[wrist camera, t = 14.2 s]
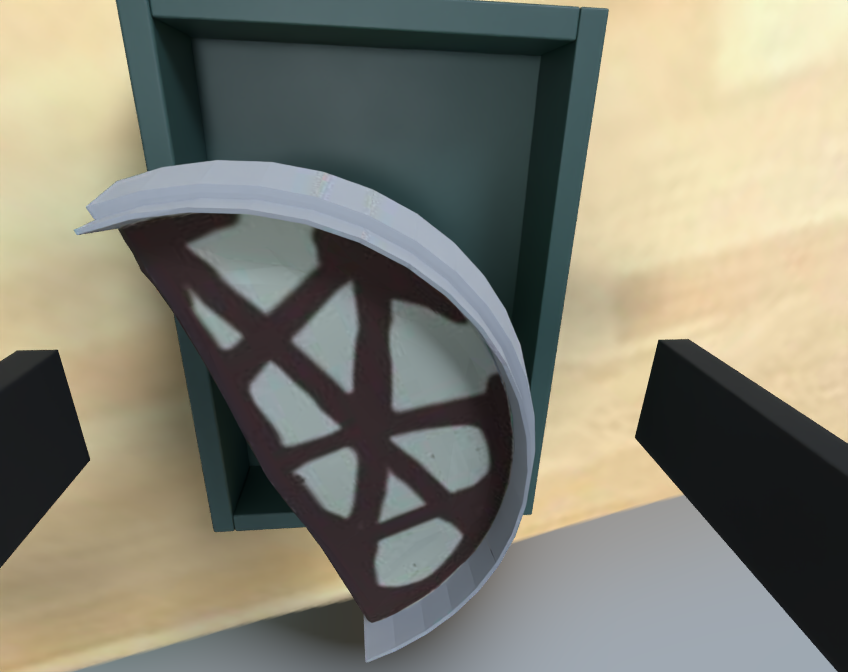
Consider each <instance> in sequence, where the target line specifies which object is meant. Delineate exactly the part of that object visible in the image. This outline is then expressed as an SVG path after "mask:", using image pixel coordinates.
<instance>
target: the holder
mask: <svg viewBox="0 0 848 672" xmlns="http://www.w3.org/2000/svg"><path fill="white" fill-rule="evenodd" d="M116 4H117V9H118V15H119V20H120V26H121V31H122V37H123V42H124V47H125V53H126V58H127V64H128V69H129V74H130V80H131V85H132V91H133V96H134V101H135V107H136V112H137V118H138V123H139V129H140V134H141V139H142V145H143V150H144V156H145V161H146V166H147V172H148V171H152V170H155V169H158V168H162V167H168V166H176V165H183V164H191V163H199V162H206V161H214V160H227V161H258V162H274V163H280V164H285V165H290V166H295V167H300V168H306V169H311V170H316V171H321V172H325V173H328V174H331V175H334V176H337V177H339V178H342V179H345V180H348V181H350V182H353V183H356V184H359V185H362V186H364V187H367V188H370V189H373V190H375V191H377V192H378V193H380V194H382V195H384V196H386V197H387V198H389V199H391V200H393V201H395V202H397V203H398V204H400V205H402V206H404V207H406V208H407V209H409V210H411V211H413V212H415V213H417V214H418V215H419V216H421V217H422V218H423V219H424V220H426V221H427V222H428V223H430V224H431V225H432V226H433V227H435V228H436V229H437V230H438V231H440V232H441V233H442V234H444V235H445V236H446V237H447V238H449V239H450V240H451V241H453V242H454V243H455V244H456V245H457V246H458V248H459V249H460V250H461V251H462V252H463V253H464V254H465V255H466V256H467V257H468V258H469V260H470V261H471V262H472V263H473V264H474V265H475V266H476V267H477V268H478V269H479V270H480V272H481V273H482V274H483V275H484V276H485V278H486V279H487V281H488V283H489V284H490V286H491V287H492V289H493V290H494V292H495V294H496V295H497V297H498V298H499V300H500V301H501V303H502V304H503V306H504V308H505V309H506V311H507V314H508V316H509V319H510V321H511V323H512V326H513V328H514V331H515V333H516V335H517V338H518V340H519V343H520V345H521V350H522V355H523V359H524V364H525V369H526V373H527V378H528V383H529V389H530V394H531V399H532V405H533V410H534V416H535V456H534V462H533V468H532V474H531V480H530V485H529V491H528V497H527V504H526V507H525V510H524V513H523V515H531V514H532V509H533V502H534V496H535V489H536V482H537V476H538V469H539V463H540V456H541V450H542V443H543V437H544V430H545V424H546V417H547V410H548V404H549V397H550V391H551V384H552V378H553V371H554V365H555V358H556V352H557V345H558V339H559V332H560V325H561V319H562V312H563V306H564V299H565V293H566V286H567V280H568V273H569V267H570V260H571V253H572V247H573V240H574V234H575V227H576V221H577V214H578V208H579V201H580V195H581V188H582V181H583V175H584V168H585V162H586V155H587V149H588V142H589V136H590V129H591V123H592V116H593V110H594V103H595V96H596V90H597V83H598V77H599V70H600V64H601V57H602V51H603V44H604V38H605V31H606V24H607V18H608V11H609V10H608V9H607V8H591V7H581V8H579V7H573V6H558V5H542V4H527V3H511V2H496V1H480V0H116ZM174 318H175V323H176V329H177V334H178V340H179V345H180V350H181V356H182V361H183V367H184V372H185V377H186V383H187V388H188V394H189V399H190V405H191V410H192V415H193V421H194V426H195V432H196V437H197V442H198V448H199V453H200V459H201V464H202V469H203V475H204V480H205V486H206V491H207V496H208V502H209V507H210V513H211V518H212V524H213V529H214V532H225V531H234V530H236V531H246V530H263V529H281V528H298V527H305V525H304V524H303V523H302V522H301V521H300V519H299V518H298V517H297V516H296V515H295V513H294V512H293V511H292V510H291V509H290V507H289V506H288V505H287V504H286V502H285V501H284V500H283V498H282V497H281V496H280V494H279V493H278V491H277V490H276V489H275V487H274V486H273V485H272V483H271V482H270V481H269V479H268V478H267V476H266V475H265V473H264V471H263V469H262V467H261V465H260V464H259V462H258V460H257V458H256V457H255V455H254V453H253V451H252V449H251V448H250V446H249V444H248V442H247V441H246V439H245V437H244V435H243V433H242V431H241V429H240V427H239V425H238V423H237V421H236V420H235V418H234V416H233V414H232V412H231V410H230V408H229V406H228V404H227V402H226V400H225V399H224V397H223V395H222V393H221V392H220V390H219V388H218V386H217V385H216V383H215V381H214V379H213V378H212V376H211V374H210V372H209V371H208V369H207V367H206V365H205V364H204V362H203V360H202V359H201V357H200V355H199V354H198V352H197V350H196V349H195V347H194V346H193V344H192V342H191V341H190V339H189V337H188V336H187V334H186V333H185V331H184V329H183V328H182V326H181V324H180V323H179V321H178V320H177V318H176V316H175V315H174Z"/></svg>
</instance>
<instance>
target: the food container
mask: <svg viewBox="0 0 848 672" xmlns="http://www.w3.org/2000/svg"><path fill="white" fill-rule="evenodd" d="M86 208H87V210H88V211H89V213H90V214H91V215H92V217H93V218H94V221H92V222H90V223H88V224H85V225H83V226H81V227H79V228H77V229H75V230H74V231H75V233H76V234H77V235H81V234H87V233H93V232H99V231H105V230H112V229H118V228H119V229H118V230H119V231H120V233H121V235H122V237H123V239H124V240H125V242H126V244H127V245H128V247H129V248H130V250H131V251H132V253H133V255H134V257H135V259H136V261H137V263H138V265H139V267H140V269H141V271H142V272H143V273H144V274H145V276H146V277H147V278H148V279H149V280H150V281H151V282H152V283H153V285H154V286H155V287H156V289H157V290H158V291H159V293H160V294H161V296H162V297H163V298H164V300H165V301H166V303H167V304H168V306H169V307H170V308H171V310H172V312H173V313H174V315H175V316H176V318H177V320H178V321H179V323H180V324H181V326H182V328H183V329H184V331H185V333H186V334H187V336H188V337H189V339H190V341H191V342H192V344H193V346H194V347H195V349H196V350H197V352H198V354H199V355H200V357H201V359H202V360H203V362H204V364H205V365H206V367H207V369H208V371H209V372H210V374H211V376H212V378H213V379H214V381H215V383H216V385H217V386H218V388H219V390H220V392H221V393H222V395H223V397H224V399H225V400H226V402H227V404H228V406H229V408H230V410H231V412H232V414H233V416H234V418H235V420H236V421H237V423H238V425H239V427H240V429H241V431H242V433H243V435H244V437H245V439H246V441H247V442H248V444H249V446H250V448H251V449H252V451H253V453H254V455H255V457H256V458H257V460H258V462H259V464H260V465H261V467H262V469H263V471H264V473H265V475H266V476H267V478H268V479H269V481H270V482H271V483H272V485H273V486H274V487H275V489H276V490H277V491H278V493H279V494H280V496H281V497H282V498H283V500H284V501H285V502H286V504H287V505H288V506H289V507H290V509H291V510H292V511H293V512H294V513H295V515H296V516H297V517H298V518H299V519H300V521H301V522H302V523H303V524H304V525H305V527H306V528H307V529H308V531H309V532H310V533H311V535H312V536H313V537H314V539H315V540H316V541H317V543H318V544H319V545H320V547H321V548H322V549H323V551H324V553H325V554H326V556H327V557H328V559H329V560H330V562H331V563H332V565H333V567H334V568H335V570H336V571H337V573H338V574H339V576H340V578H341V579H342V581H343V582H344V584H345V585H346V587H347V588H348V590H349V592H350V593H351V595H352V596H353V598H354V600H355V601H356V603H357V604H358V606H359V607H360V609H361V610H362V612H363V614H364V633H365V634H364V635H365V661H366V662H370V661H372V660H375V659H377V658H380V657H382V656H385V655H387V654H389V653H392V652H394V651H397V650H398V649H400V648H402V647H404V646H406V645H408V644H409V643H411V642H413V641H415V640H417V639H418V638H420V637H422V636H424V635H426V634H427V633H429V632H430V631H432V630H433V629H434V628H436V627H437V626H438V625H440V624H441V623H443V622H444V621H445V620H447V619H448V618H449V617H451V616H452V615H453V614H455V613H456V612H457V611H458V610H459V609H460V608H461V607H462V606H463V605H464V604H465V603H467V602H468V601H469V600H470V599H471V598H472V597H473V596H474V595H475V594H476V593H477V592H478V591H479V590H480V589H481V587H482V586H483V585H484V583H485V582H486V581H487V580H488V578H489V577H490V576H491V575H492V573H493V572H494V571H495V570H496V568H497V567H498V566H499V564H500V563H501V561H502V559H503V557H504V555H505V554H506V552H507V550H508V548H509V546H510V545H511V543H512V541H513V539H514V538H515V536H516V533H517V530H518V527H519V524H520V521H521V519H522V516H523V513H524V510H525V507H526V504H527V497H528V491H529V485H530V480H531V474H532V468H533V462H534V456H535V416H534V410H533V405H532V399H531V394H530V389H529V383H528V378H527V373H526V369H525V364H524V359H523V355H522V350H521V345H520V343H519V340H518V338H517V335H516V333H515V331H514V328H513V326H512V323H511V321H510V319H509V316H508V314H507V311H506V309H505V308H504V306H503V304H502V303H501V301H500V300H499V298H498V297H497V295H496V294H495V292H494V290H493V289H492V287H491V286H490V284H489V283H488V281H487V279H486V278H485V276H484V275H483V274H482V273H481V272H480V270H479V269H478V268H477V267H476V266H475V265H474V264H473V263H472V262H471V261H470V260H469V258H468V257H467V256H466V255H465V254H464V253H463V252H462V251H461V250H460V249H459V248H458V246H457V245H456V244H455V243H454V242H453V241H451V240H450V239H449V238H447V237H446V236H445V235H444V234H442V233H441V232H440V231H438V230H437V229H436V228H435V227H433V226H432V225H431V224H430V223H428V222H427V221H426V220H424V219H423V218H422V217H421V216H419V215H418V214H417V213H415V212H413V211H411V210H409V209H407V208H406V207H404V206H402V205H400V204H398V203H397V202H395V201H393V200H391V199H389V198H387V197H386V196H384V195H382V194H380V193H378V192H377V191H375V190H373V189H370V188H367V187H364V186H362V185H359V184H356V183H353V182H350V181H348V180H345V179H342V178H339V177H337V176H334V175H331V174H328V173H325V172H321V171H316V170H311V169H306V168H300V167H295V166H290V165H285V164H280V163H274V162H258V161H227V160H214V161H206V162H199V163H191V164H183V165H176V166H168V167H162V168H158V169H155V170H152V171H148V172H145V173H142V174H139V175H135V176H132V177H129V178H125V179H122V180H119V181H116V182H115V183H114V184H113V185H111V186H110V187H109V188H108V189H107V190H105V191H104V192H103V193H102V194H101V195H99V196H98V197H97V198H96V199H95V200H93V201H92V202H91V203H90V204H88V205H87V206H86Z"/></svg>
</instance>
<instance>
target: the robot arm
mask: <svg viewBox="0 0 848 672" xmlns="http://www.w3.org/2000/svg"><path fill="white" fill-rule="evenodd" d="M635 438H636V440H637V441H638V442H639V443H640V444H641V445H642V446H643V448H644V449H645V450H646V451H647V452H648V453H649V455H650V456H651V457H652V458H653V459H654V460H655V461H656V463H657V464H658V465H659V466H660V467H661V468H662V470H663V471H664V472H665V473H666V474H667V475H668V476H669V478H670V479H671V480H672V481H673V482H674V483H675V485H676V486H677V487H678V488H679V489H680V490H681V491H682V493H683V494H684V495H685V496H686V497H687V498H688V500H689V501H690V502H691V503H692V504H693V505H694V506H695V508H696V509H697V510H698V511H699V512H700V513H701V515H702V516H703V517H704V518H705V519H706V520H707V521H708V523H709V524H710V525H711V526H712V527H713V528H714V530H715V531H716V532H717V533H718V534H719V535H720V536H721V538H722V539H723V540H724V541H725V542H726V543H727V545H728V546H729V547H730V548H731V549H732V550H733V551H734V553H736V555H737V556H738V557H739V558H740V560H741V561H742V562H743V563H744V564H745V565H746V566H747V568H748V569H749V570H750V571H751V572H752V573H753V575H754V576H755V577H756V578H757V579H758V580H759V581H760V582H761V584H762V585H763V586H764V587H765V588H766V590H767V591H768V592H769V593H770V594H771V595H772V597H773V598H774V599H775V600H776V601H777V602H778V603H779V605H780V606H781V607H782V608H783V609H784V610H785V612H786V613H787V614H788V615H789V616H790V617H791V618H792V620H793V621H794V622H795V623H796V624H797V625H798V627H799V628H800V629H801V630H802V631H803V632H804V633H805V635H806V636H807V637H808V638H809V639H810V640H811V642H812V643H813V644H814V645H815V646H816V647H817V648H818V650H819V651H820V652H821V653H822V654H823V655H824V656H825V658H826V659H827V660H828V661H829V662H830V663H831V664H832V666H833V667H834V668H835V669H836V670H837V671H838V672H848V443H846V442H845V441H843V440H842V439H840V438H838V437H837V436H835V435H834V434H832V433H831V432H829V431H828V430H826V429H825V428H823V427H822V426H820V425H819V424H817V423H816V422H814V421H813V420H811V419H810V418H808V417H806V416H805V415H803V414H802V413H800V412H799V411H797V410H796V409H794V408H793V407H791V406H790V405H788V404H787V403H785V402H784V401H782V400H781V399H779V398H778V397H776V396H774V395H773V394H771V393H770V392H768V391H767V390H765V389H764V388H762V387H761V386H759V385H758V384H756V383H755V382H753V381H752V380H750V379H749V378H747V377H745V376H744V375H742V374H741V373H739V372H738V371H736V370H735V369H733V368H732V367H730V366H729V365H727V364H726V363H724V362H723V361H721V360H720V359H718V358H717V357H715V356H713V355H712V354H710V353H709V352H707V351H706V350H704V349H703V348H701V347H700V346H698V345H697V344H695V343H694V342H692V341H691V340H689V339H678V340H658V344H657V348H656V352H655V356H654V361H653V365H652V369H651V373H650V377H649V381H648V385H647V390H646V394H645V398H644V402H643V406H642V410H641V414H640V418H639V423H638V427H637V431H636V435H635ZM89 461H90V457H89V454H88V450H87V447H86V444H85V440H84V437H83V433H82V430H81V427H80V423H79V420H78V416H77V413H76V410H75V406H74V403H73V399H72V396H71V393H70V389H69V386H68V382H67V379H66V376H65V372H64V369H63V366H62V362H61V359H60V355H59V352H58V350H21V351H16V352H14V353H13V354H11V355H10V356H8V357H6V358H5V359H3V360H2V361H0V568H1V567H2V565H3V564H4V563H5V562H6V561H7V559H8V558H9V557H10V556H11V555H12V553H13V552H14V551H15V550H16V549H17V547H18V546H19V545H20V544H21V543H22V541H23V540H24V539H25V538H26V537H27V535H28V534H29V533H30V532H31V531H32V529H33V528H34V527H35V526H36V524H37V523H38V522H39V521H40V520H41V518H42V517H43V516H44V515H45V514H46V512H47V511H48V510H49V509H50V508H51V506H52V505H53V504H54V503H55V502H56V500H57V499H58V498H59V497H60V496H61V494H62V493H63V492H64V491H65V490H66V488H67V487H68V486H69V485H70V484H71V482H72V481H73V480H74V479H75V478H76V476H77V475H78V474H79V473H80V472H81V470H82V469H83V468H84V467H85V466H86V464H87V463H88V462H89Z"/></svg>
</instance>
